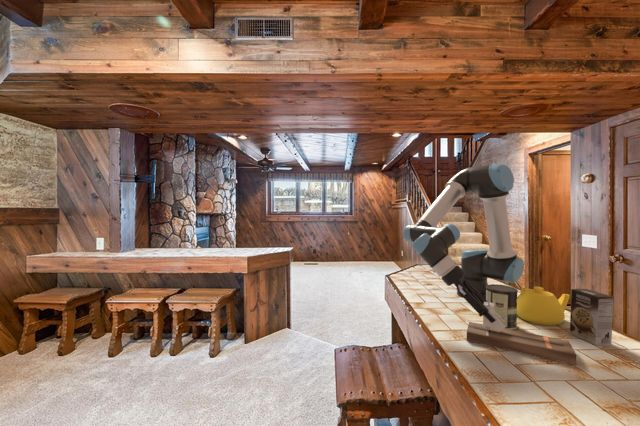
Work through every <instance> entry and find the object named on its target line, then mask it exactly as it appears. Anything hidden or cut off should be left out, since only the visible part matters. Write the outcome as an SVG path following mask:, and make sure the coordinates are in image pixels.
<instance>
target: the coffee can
mask: <svg viewBox="0 0 640 426" xmlns="http://www.w3.org/2000/svg"><path fill="white" fill-rule="evenodd" d="M518 292H519V291H518V289H517V288H516V287H512V286H510V285H503V284H488V285H486V300H487V302H490V303H494V311H495V312H496V313H497V314H498V315H499V316H500V317H501V318H502V319H503V320H504V321H505V323H503V325H504V326H505V329H510V330H516V329H517V328H518V327H517V325H518V324H517V322H518V320H517V318H518V316H517V297H518Z"/></svg>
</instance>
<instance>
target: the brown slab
mask: <svg viewBox="0 0 640 426" xmlns="http://www.w3.org/2000/svg"><path fill="white" fill-rule="evenodd" d="M466 341H467V342H471V343H476V344H479V345H483V346H489V347H494V348H497V349H502V350H506V351H510V352H517V353H521V354H525V355H529V356H534V357H538V358H543V359H547V360H551V361H557V362H560V363H565V364H570V365H575V366H577V353H576V351H575V349H574V347H573V346H572V344H571V342H570V340H567V339H563V338H562V339H561V338H556V337H552V336H551V337H550V336H545V335H542V334H541V335H540V334H536V333H530V332H525V331H519V330H516V329H514V330H510V329H505V328H504V329H502V330H501V331H499V332H498V331H497V330H496V329H495V328H492V327H490V330H487V329H486V326H483V323H476V322H472V321H468V325H467V330H466Z"/></svg>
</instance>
